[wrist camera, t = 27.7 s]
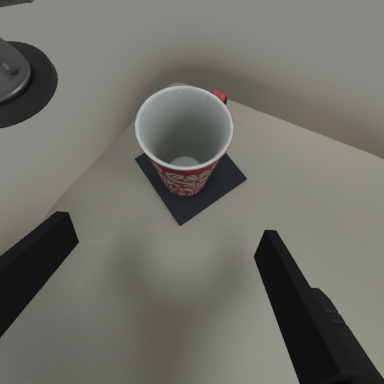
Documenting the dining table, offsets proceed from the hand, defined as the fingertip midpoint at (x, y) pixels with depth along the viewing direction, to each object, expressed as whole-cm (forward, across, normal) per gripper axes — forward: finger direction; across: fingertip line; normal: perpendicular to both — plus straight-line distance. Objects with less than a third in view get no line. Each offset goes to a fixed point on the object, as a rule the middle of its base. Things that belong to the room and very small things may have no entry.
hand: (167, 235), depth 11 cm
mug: (+18, +1, -2) cm, 18 cm away
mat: (+19, +1, -2) cm, 19 cm away
